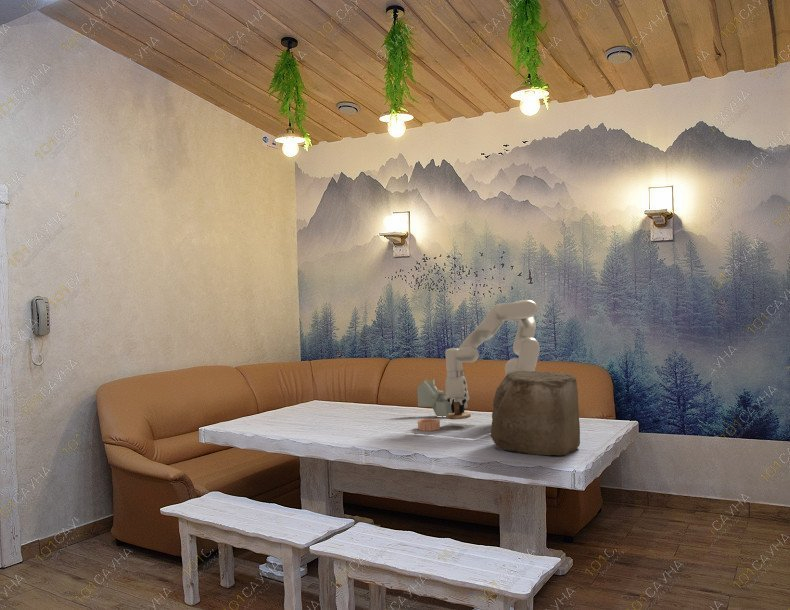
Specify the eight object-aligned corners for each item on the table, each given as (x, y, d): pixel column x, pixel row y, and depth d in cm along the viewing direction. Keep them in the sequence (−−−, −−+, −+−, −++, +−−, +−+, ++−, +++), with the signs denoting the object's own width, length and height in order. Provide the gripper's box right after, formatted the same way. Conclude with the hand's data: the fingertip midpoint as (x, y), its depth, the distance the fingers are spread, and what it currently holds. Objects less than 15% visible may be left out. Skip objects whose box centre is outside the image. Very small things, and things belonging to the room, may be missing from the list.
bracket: (469, 416, 335) (468, 378, 335) (465, 418, 329) (464, 379, 329) (420, 414, 346) (419, 377, 346) (416, 416, 340) (414, 379, 340)
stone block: (478, 450, 256) (476, 375, 255) (507, 437, 275) (505, 368, 274) (560, 462, 234) (557, 381, 234) (585, 447, 254) (583, 372, 253)
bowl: (443, 429, 301) (443, 419, 301) (432, 433, 293) (432, 423, 293) (425, 427, 307) (425, 418, 307) (414, 431, 299) (413, 421, 299)
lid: (475, 415, 305) (473, 400, 305) (463, 419, 295) (462, 404, 295) (453, 414, 311) (452, 399, 311) (441, 419, 302) (440, 403, 302)
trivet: (476, 427, 305) (476, 425, 305) (462, 432, 293) (461, 430, 293) (450, 424, 313) (450, 423, 313) (436, 429, 301) (435, 428, 301)
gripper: (474, 373, 302) (477, 411, 302) (444, 373, 311) (447, 410, 311) (466, 375, 295) (469, 414, 295) (436, 375, 305) (439, 413, 305)
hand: (458, 412), depth 303 cm, fingers closed on lid, 3 cm apart
